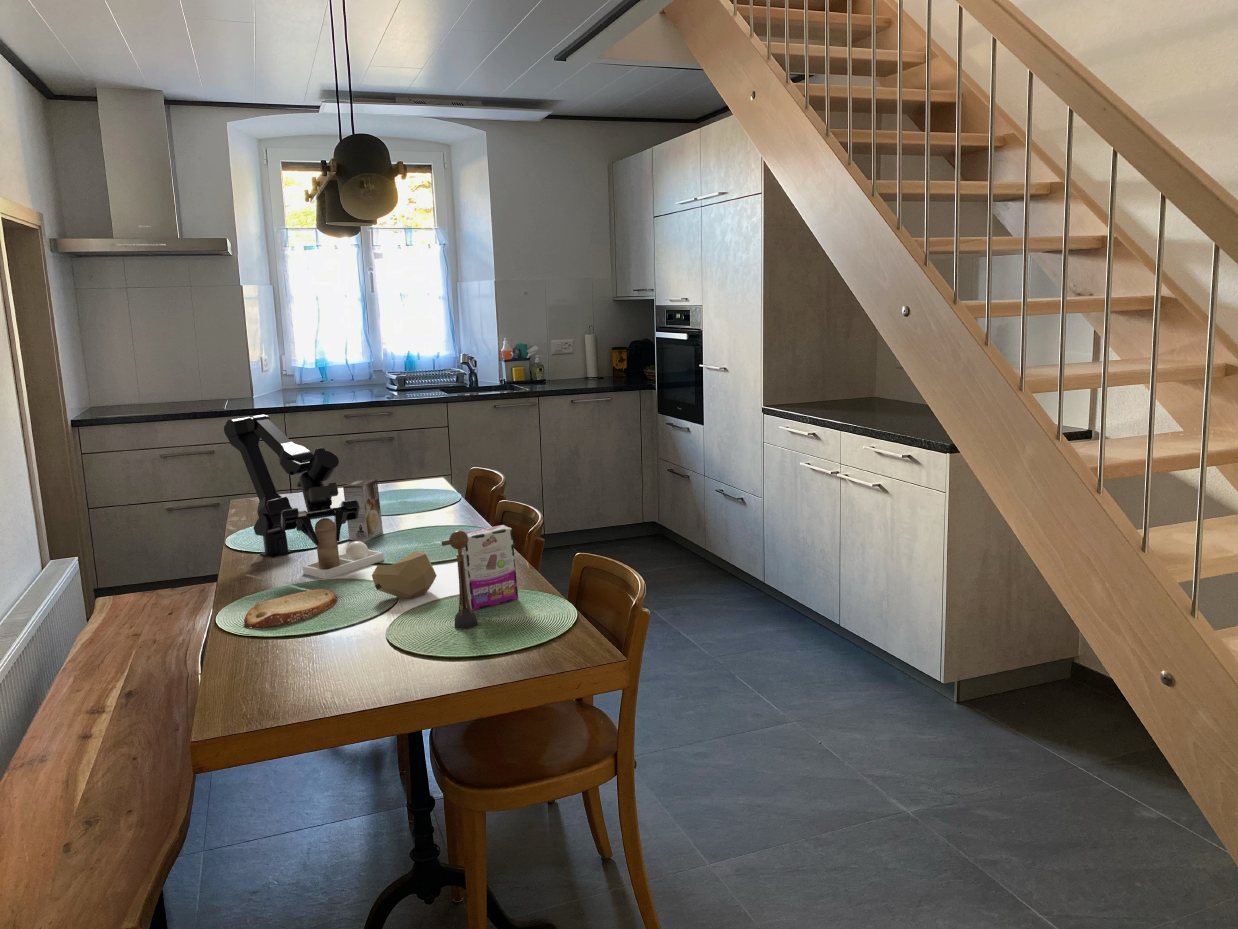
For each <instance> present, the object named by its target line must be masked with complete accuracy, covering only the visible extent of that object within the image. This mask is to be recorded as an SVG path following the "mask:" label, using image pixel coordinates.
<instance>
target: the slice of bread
mask: <svg viewBox="0 0 1238 929" xmlns="http://www.w3.org/2000/svg"><path fill="white" fill-rule="evenodd" d="M337 602H338V599H337V597H336V594H335V593H334V592H333V591H331V590H330V589H325V588H316V589H312V590H306V591H300V592H296V593H291V594H288V595H283V596H282V597H277V598H272V599H269V600H266V601H262V602H257V603H256V604H255V605H254V606H251V607H250V609H249V610H248V611H247V613H245V614H246V615H245V616H244V619H243V623H244V624H243V625H244V628H246V627H252V628H261V629H264V628H263V627H266V628H271V627H270V626H274V627H280V626H279V625H281V626H285V624H286V625H289V623H291V624H294V623H297V621H298V622H300V620H301V621H303V620H304V621H305V620H306V619H311V618H313V617H315V616H316V615H319V614H322V613H324V612H326V611H328V610H329V609H331V608H332V607H334V606H335V605H336V604H337ZM293 622H294V623H293Z"/></svg>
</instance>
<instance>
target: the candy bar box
mask: <svg viewBox="0 0 1238 929" xmlns="http://www.w3.org/2000/svg"><path fill="white" fill-rule="evenodd" d="M464 532H465V531H464ZM465 533H466V534H467V535H468V544H467V545H466V547H465V548H462V553H464V555H463V556H464V567H465V578H466V586H467V593H468V599H469V604H470V607H471V610H472V611H477V610H480V609H481V610H482V609H484V608H485V609H486V608H488V607H489V608H490V607H493V606H497V605H501V604H505V603H510V602H514V601H516V600H519V592H518V590H519V589H518V580H517V579H518V578H517V572H516V571H517V570H516V560H515V559H516V558H515V548H514V538H513V528H511V527H509V526H507V525H505V524H500V525H495V526H490V527H485V528H480V529H476V530H471V531H466V532H465ZM466 606H467V603H466Z"/></svg>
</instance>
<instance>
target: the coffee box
mask: <svg viewBox="0 0 1238 929" xmlns="http://www.w3.org/2000/svg"><path fill="white" fill-rule="evenodd" d="M342 488H343V498H344V501H347V500H354V499H355V500H356V501H358V503H359V507H360V508H359V514H358V518H357V519H355V520H349V521H346V523H347V529H348V530H347V531H348V538H349V540H350V541H358V540H360V539H361V540H368V539H371V538H373V537H376V536H378V535H380V534H381V533H384V530H383V522H382V521H383V519H382V511H381V501H380V495H379V494H380V493H379V486H378V479H357V480H355V481H352V482H350V483H348V484H345V485H343V486H342Z"/></svg>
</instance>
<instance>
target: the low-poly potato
mask: <svg viewBox="0 0 1238 929" xmlns="http://www.w3.org/2000/svg"><path fill="white" fill-rule="evenodd" d="M371 577H372V580H373V583H374V587H375V589H376V591H379V592H383V593H385V594H389V595H391V596H394V597H397V598H401V599H410V600H413V599H416V598H420V597H424V596H425V595H426V594H427V592H429V589H431V587H432V585H433V584H434V581H435V580H436V578H437V574H436V571H435V569H434V567H433V564H432V563H431V560H430V559H429V557H428V556H427V553H426V552H424V550H420V551H414V552H412V553H410V554H408V555H406V556H404V557H403V558H401V559H400V560H398V561H396V562H394V563H392V564H379V565H376V568H375V569H374V570H373V573H372V574H371Z"/></svg>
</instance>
